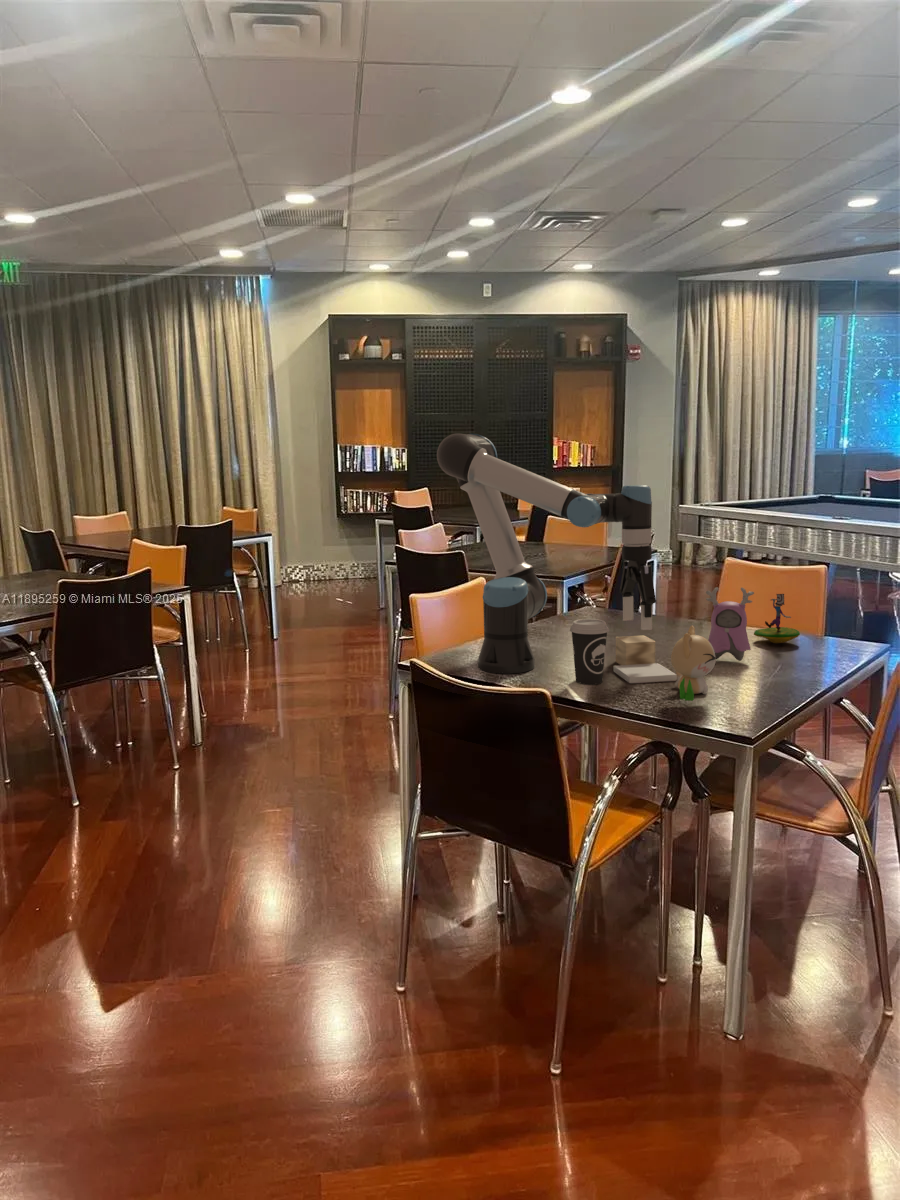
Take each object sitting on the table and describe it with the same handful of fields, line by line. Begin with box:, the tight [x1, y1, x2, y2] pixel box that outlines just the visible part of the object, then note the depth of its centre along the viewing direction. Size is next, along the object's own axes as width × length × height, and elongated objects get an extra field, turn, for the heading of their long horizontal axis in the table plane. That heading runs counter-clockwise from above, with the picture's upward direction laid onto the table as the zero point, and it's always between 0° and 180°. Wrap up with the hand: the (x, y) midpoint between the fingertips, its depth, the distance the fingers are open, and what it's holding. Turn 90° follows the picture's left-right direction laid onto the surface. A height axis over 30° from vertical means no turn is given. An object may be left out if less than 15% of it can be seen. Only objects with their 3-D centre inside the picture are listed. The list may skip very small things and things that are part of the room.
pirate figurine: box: [753, 593, 801, 644], centre depth 239 cm, size 14×13×15 cm
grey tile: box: [613, 662, 678, 684], centre depth 206 cm, size 12×12×2 cm
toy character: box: [705, 586, 755, 662], centre depth 218 cm, size 12×10×20 cm
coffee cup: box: [569, 618, 610, 686], centre depth 201 cm, size 10×10×15 cm
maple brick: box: [615, 635, 656, 665], centre depth 218 cm, size 8×8×7 cm
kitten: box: [670, 625, 717, 702], centre depth 189 cm, size 15×10×15 cm
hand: (637, 624), depth 216 cm, fingers open, 13 cm apart
